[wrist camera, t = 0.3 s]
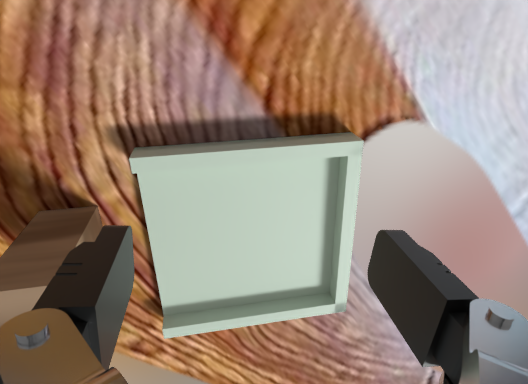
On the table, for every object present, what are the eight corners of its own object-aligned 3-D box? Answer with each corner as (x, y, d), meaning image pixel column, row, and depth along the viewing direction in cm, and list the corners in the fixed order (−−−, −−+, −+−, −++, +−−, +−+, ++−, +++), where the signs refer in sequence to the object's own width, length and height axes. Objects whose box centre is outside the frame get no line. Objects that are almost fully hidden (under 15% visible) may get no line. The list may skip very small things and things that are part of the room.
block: (38, 211, 29) (-32, 295, 20) (97, 205, 29) (55, 284, 20) (54, 257, 31) (-4, 352, 22) (108, 250, 31) (74, 340, 22)
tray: (134, 147, 28) (129, 158, 26) (351, 132, 30) (363, 140, 28) (166, 319, 36) (164, 338, 33) (336, 294, 38) (345, 311, 36)
